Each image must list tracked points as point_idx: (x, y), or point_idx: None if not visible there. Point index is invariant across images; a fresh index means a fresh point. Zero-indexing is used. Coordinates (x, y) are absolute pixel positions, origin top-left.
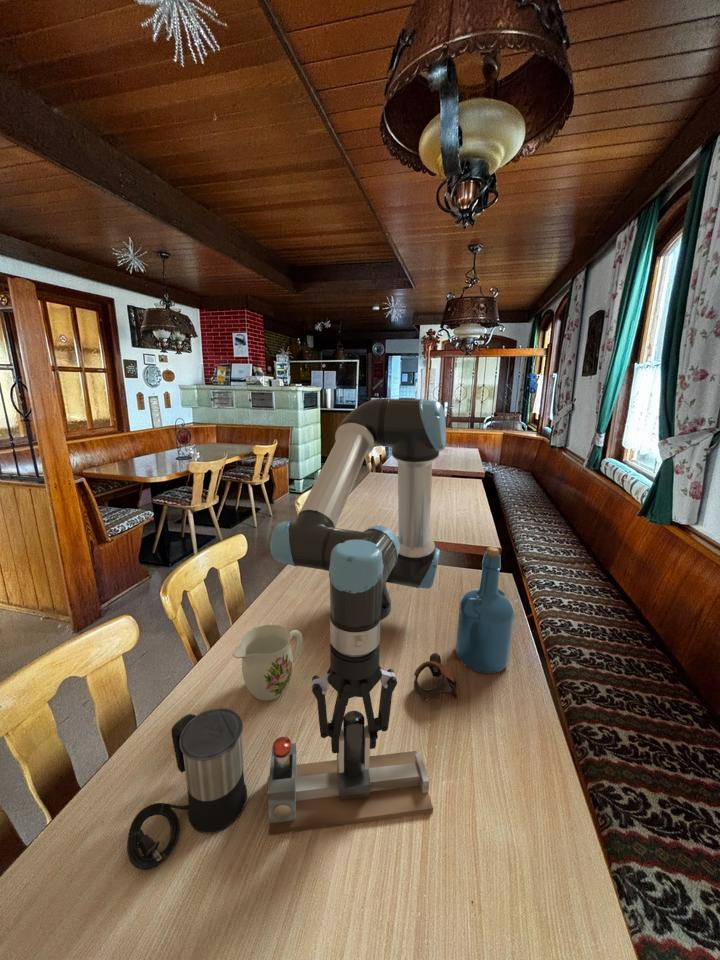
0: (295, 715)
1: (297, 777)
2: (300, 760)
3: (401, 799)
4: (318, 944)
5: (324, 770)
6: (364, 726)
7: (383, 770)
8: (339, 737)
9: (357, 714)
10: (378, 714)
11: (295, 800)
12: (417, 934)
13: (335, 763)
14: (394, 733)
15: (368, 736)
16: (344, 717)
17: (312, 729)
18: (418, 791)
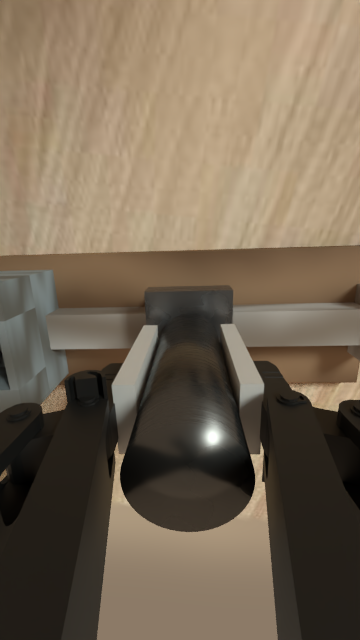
0: (19, 60)
1: (48, 317)
2: (61, 231)
3: (294, 359)
4: (126, 499)
5: (121, 277)
6: (245, 400)
7: (272, 321)
8: (119, 438)
9: (214, 454)
10: (351, 426)
11: (54, 367)
12: (259, 506)
13: (149, 260)
14: (333, 166)
15: (254, 450)
16: (126, 465)
17: (82, 128)
18: (339, 347)
